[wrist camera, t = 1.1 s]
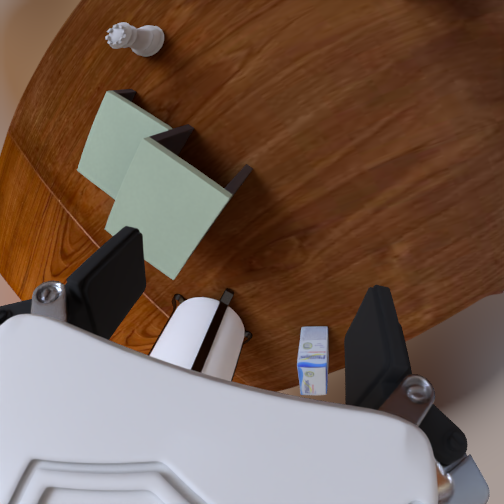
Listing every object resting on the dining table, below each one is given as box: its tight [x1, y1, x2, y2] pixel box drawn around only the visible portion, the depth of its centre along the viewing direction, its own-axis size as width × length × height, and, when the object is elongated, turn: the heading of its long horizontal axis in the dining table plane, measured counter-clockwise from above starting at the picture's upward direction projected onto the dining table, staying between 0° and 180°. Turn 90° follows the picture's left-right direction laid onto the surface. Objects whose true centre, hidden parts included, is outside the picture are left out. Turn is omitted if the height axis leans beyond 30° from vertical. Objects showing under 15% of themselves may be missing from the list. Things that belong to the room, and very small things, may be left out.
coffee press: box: [148, 288, 252, 381], centre depth 36 cm, size 17×16×30 cm
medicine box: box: [297, 326, 329, 395], centre depth 44 cm, size 8×4×9 cm, turn 11°
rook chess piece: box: [106, 22, 164, 57], centre depth 25 cm, size 4×4×8 cm
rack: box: [77, 89, 253, 280], centre depth 32 cm, size 12×20×11 cm, turn 55°
